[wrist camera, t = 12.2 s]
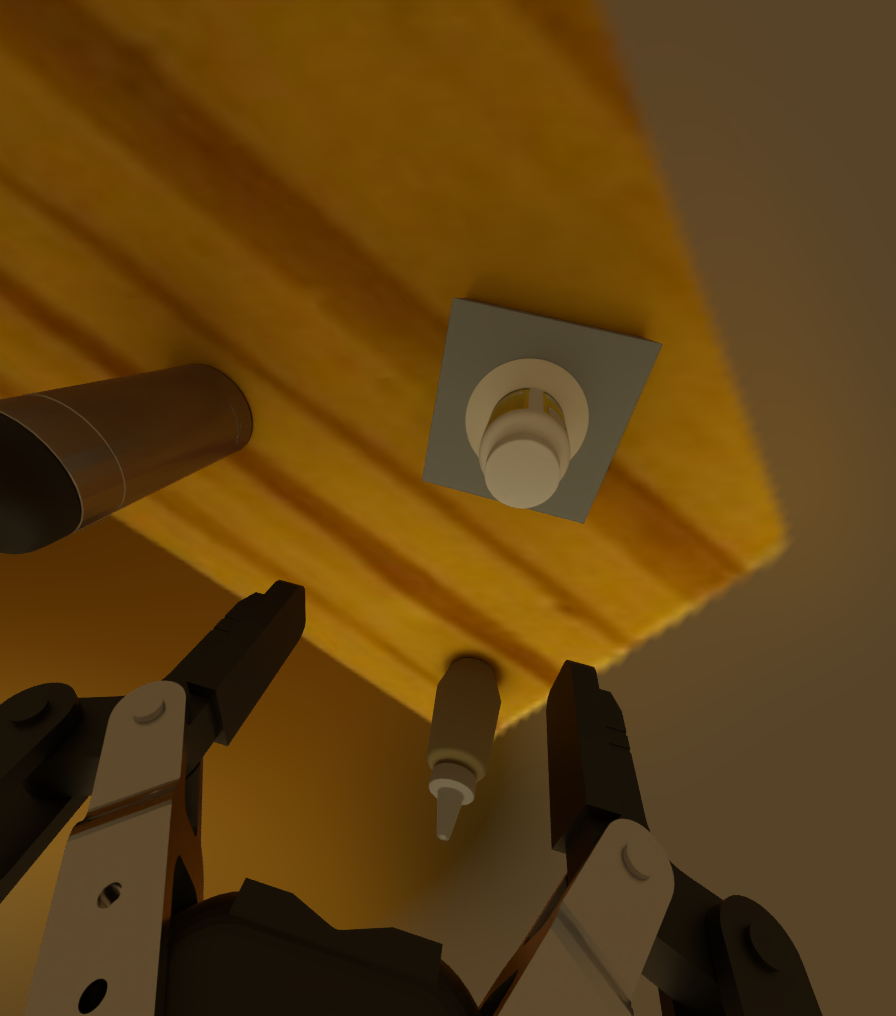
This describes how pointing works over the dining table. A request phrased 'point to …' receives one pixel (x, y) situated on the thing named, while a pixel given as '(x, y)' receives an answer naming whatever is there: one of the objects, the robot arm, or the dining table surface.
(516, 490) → the supplement bottle
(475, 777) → the squeeze bottle
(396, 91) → the dining table surface
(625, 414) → the charcoal stand
